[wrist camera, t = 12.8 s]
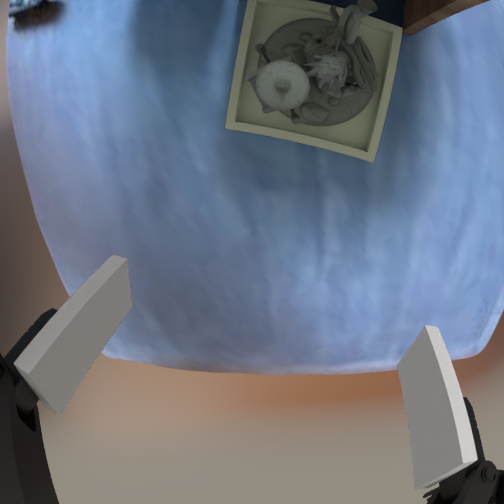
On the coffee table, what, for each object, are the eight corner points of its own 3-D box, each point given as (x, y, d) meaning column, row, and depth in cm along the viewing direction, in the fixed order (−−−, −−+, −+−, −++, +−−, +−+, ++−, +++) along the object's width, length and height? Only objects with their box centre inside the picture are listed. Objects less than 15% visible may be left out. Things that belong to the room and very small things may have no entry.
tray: (230, 126, 26) (224, 128, 25) (253, -1, 19) (249, -7, 17) (368, 158, 26) (373, 163, 24) (396, 32, 18) (402, 28, 16)
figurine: (390, 106, 22) (448, 116, 12) (286, 142, 25) (275, 172, 15) (343, 8, 18) (369, -46, 7) (238, 46, 21) (192, 12, 11)
